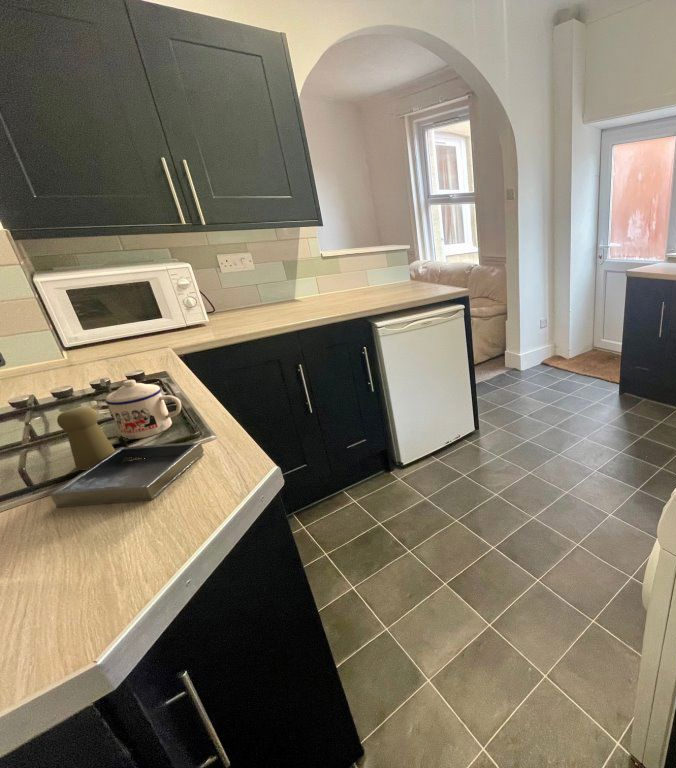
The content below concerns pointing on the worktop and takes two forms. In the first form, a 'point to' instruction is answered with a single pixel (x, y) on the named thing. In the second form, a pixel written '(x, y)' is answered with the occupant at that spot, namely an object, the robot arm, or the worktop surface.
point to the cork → (85, 436)
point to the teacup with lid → (141, 409)
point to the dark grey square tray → (129, 475)
